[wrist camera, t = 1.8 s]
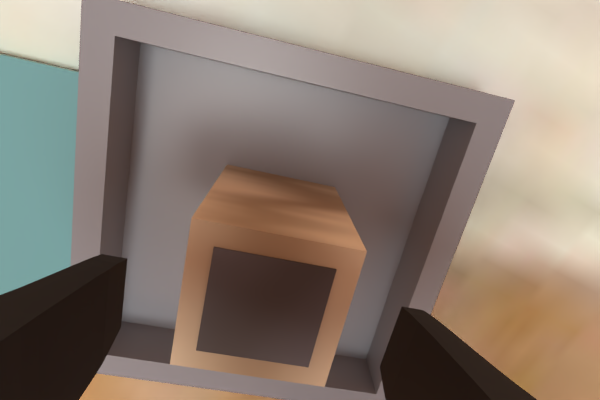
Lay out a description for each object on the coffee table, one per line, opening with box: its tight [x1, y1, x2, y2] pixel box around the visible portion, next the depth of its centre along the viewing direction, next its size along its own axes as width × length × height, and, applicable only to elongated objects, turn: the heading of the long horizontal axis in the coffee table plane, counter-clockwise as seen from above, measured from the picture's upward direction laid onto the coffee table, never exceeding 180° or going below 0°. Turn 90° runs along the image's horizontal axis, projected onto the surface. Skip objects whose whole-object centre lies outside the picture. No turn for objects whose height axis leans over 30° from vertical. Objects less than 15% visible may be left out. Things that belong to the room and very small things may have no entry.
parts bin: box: [71, 0, 515, 400], centre depth 15 cm, size 14×14×2 cm
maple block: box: [170, 165, 367, 387], centre depth 13 cm, size 4×4×6 cm
